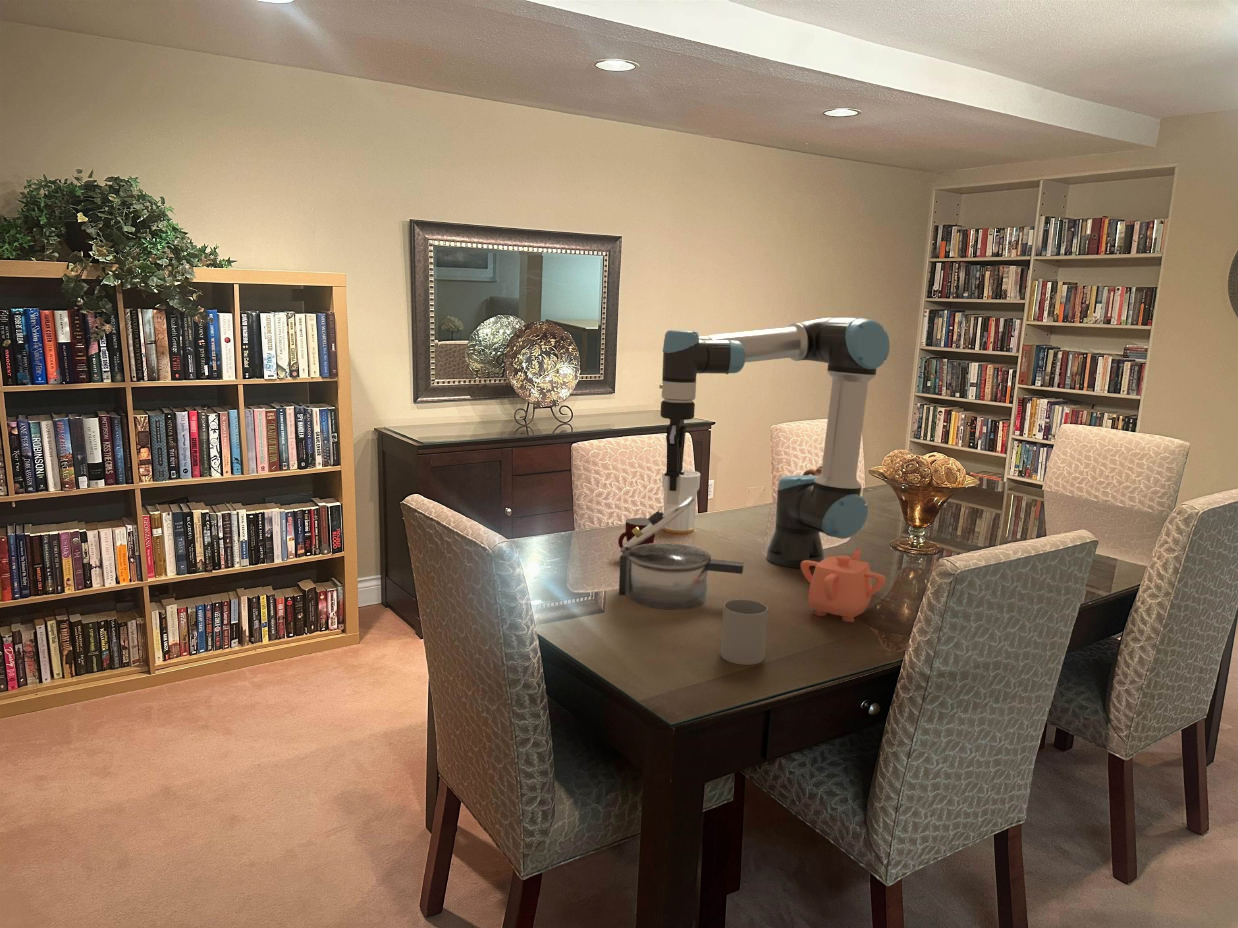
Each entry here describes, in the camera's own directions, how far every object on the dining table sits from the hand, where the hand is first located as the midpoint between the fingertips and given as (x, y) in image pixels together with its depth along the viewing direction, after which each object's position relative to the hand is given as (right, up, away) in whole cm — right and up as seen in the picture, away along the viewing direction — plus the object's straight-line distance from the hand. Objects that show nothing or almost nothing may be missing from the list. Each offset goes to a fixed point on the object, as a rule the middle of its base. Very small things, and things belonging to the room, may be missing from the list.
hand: (672, 503), depth 199 cm
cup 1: (+6, -11, +64) cm, 65 cm away
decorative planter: (+60, -6, +103) cm, 119 cm away
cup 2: (+12, -28, -29) cm, 42 cm away
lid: (-3, -5, +2) cm, 6 cm away
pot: (+2, -22, +3) cm, 22 cm away
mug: (-8, -16, +33) cm, 37 cm away
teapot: (+37, -24, -2) cm, 45 cm away
